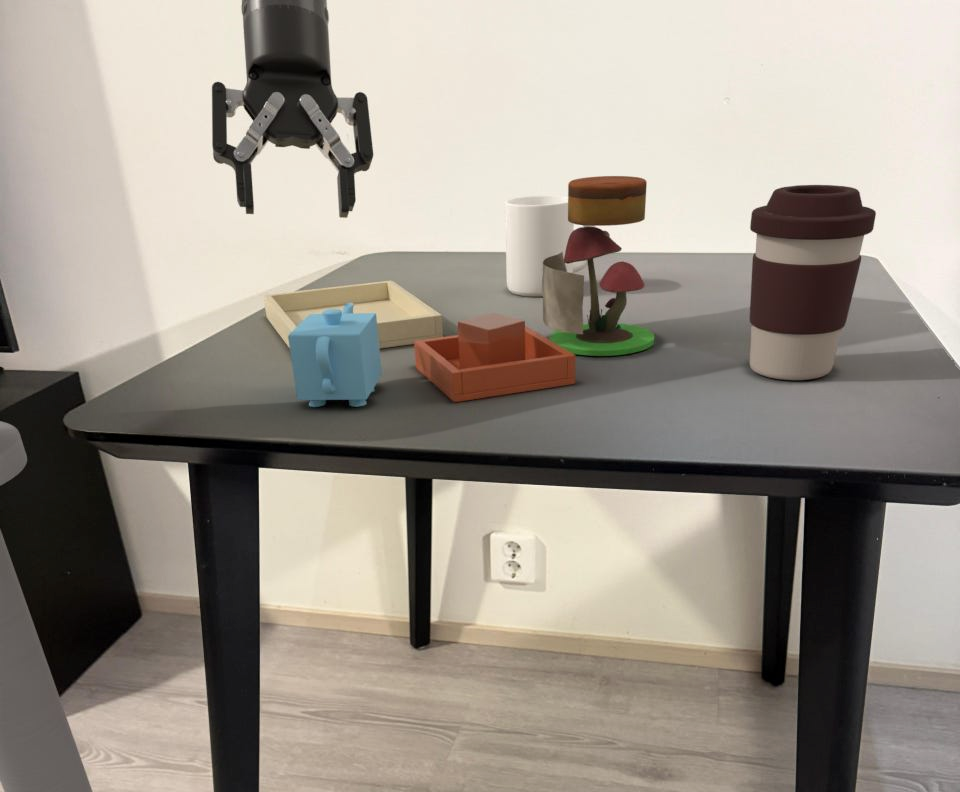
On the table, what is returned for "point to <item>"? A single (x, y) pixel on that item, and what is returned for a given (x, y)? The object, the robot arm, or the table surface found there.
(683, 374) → the table surface
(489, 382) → the terracotta tray
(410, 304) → the cream tray
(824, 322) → the coffee cup
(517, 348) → the clay block
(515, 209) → the mug
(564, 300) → the mushroom figurine
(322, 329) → the teapot
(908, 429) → the table surface
